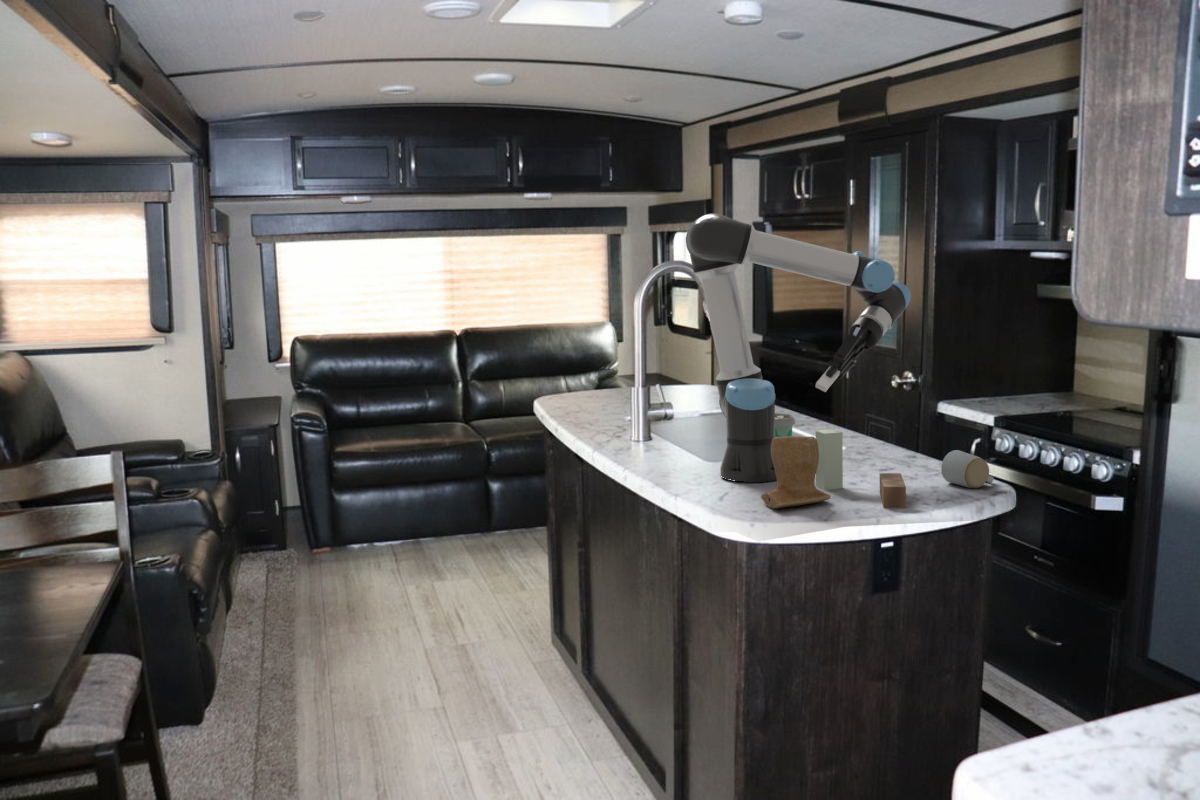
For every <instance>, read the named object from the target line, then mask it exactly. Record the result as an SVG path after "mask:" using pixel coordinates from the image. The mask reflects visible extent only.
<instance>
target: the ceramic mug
mask: <svg viewBox="0 0 1200 800" xmlns="http://www.w3.org/2000/svg"><path fill="white" fill-rule="evenodd" d="M940 471H941V475H942V477H943V479H944V480H945V481H946V482H947V483H949V484H954V485H957V486H960V487H961V486H962V487H965V488H969V489H978V488H981V487H983V486H984V484H986V483H987V484H993V482H994V476H991V475H990V467H989V465H988V463H987V461H986V460H984V459H983V458H981V457H979V456H978V455H974V454H971V453H967V452H965V451H962V450H960V449H955V450H951V451H950V452H948V453H947V454H946V455H945V456H944V458H943V459H942V462H941V469H940Z"/></svg>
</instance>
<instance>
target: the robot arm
mask: <svg viewBox="0 0 1200 800" xmlns="http://www.w3.org/2000/svg"><path fill="white" fill-rule="evenodd" d="M685 235H686V236H685V245H686V249H687V251H688V253H689V257H690V261H691V267H692V271H693V274H694V275H695V276H697V277H698V278H700V280H701V284H702V288H703V289H702V290H703V294H704V299H705V303H706V309H707V312H708V313H707V314H708V318H709V323H710V329H711V332H712V333H711V334H712V338H713V342H714V346H715V352H716V357H717V361H718V366H719V373H718V374H717V375H716V378H715V381H716V385H717V389H718V390H717V392H718V395H719V398H718V399H719V400H718V402H719V403H718V404H719V407H720V410H721V413H722V415H724V417H725V418H726V448H725V452H724V455H723V459H722V462H721V465H720V477H721V476H722V477H724V478H726V479H731V480H735V481H744V482H743V483H765V482H766V483H767V481H768V482H773V481H777V478H776V473H775V468H774V464H773V461H772V457H771V443H772V439H773V438H774V437H775V413H776V408H775V407H776V403H775V402H776V401H775V400H776V393H775V386H774V385H773V383H772V382H771V381H769V380H766V379H763V374H762V371H761V368H760V367H758V366H757V365H755V364H754V361H753V355H752V351H751V345H750V341H749V336H748V331H747V327H746V321H745V318H744V317H745V315H744V312H743V311H744V309H743V307H742V302H741V298H740V297H741V295H740V292H739V291H740V290H739V288H738V287H739V286H738V282H737V281H738V280H737V277H736V270H737V269H738V267H739V265H744V264H746V263H752V264H755V265H756V264H757V265H760V266H764V267H768V268H772V269H776V270H780V271H785V272H789V273H792V274H793V273H794V274H798V275H802V276H806V277H809V278H814V279H819V280H823V281H827V282H831V283H835V284H839V285H843V286H848V287H851V288H852V289H853V290H854V291H855V292H856V294H858V295H859V296H860V298H862V300H863V301H864V302H865V303H866V304H867V307H866V308H865V309H864V310H862V311H863V312H862V313H861V314H859V316H858V318H857V319H856V320H855V322H853V323H852V325H851V326H850V328H849V330H848V335H847V337H846V338H845V340H844V341H843V343H842V344H841V345H840V346H839V348H838V350H837V351H836V352H835V353H834V355H833V358H832V359H833V360H829V361H828V363H827V364H828V365H829V367H828V368H827V369H826V371H824V373H823V374H822V375H821V376H820V378H818V380H817V381H816V382H815V388H816V389H818V390H820V391H822V392H824V393H826V392H827V391H828V389H829V388H830V387H831V386H832V385H833V383H834V382H835V381H836V380H839V381H840V380H841V379H842V378H843V377H844V376H845V375H846V374H848V373H849V372H850V371H851V369H853V368H854V367H856V366H857V364H858V362H857V359H858V357H859V356H860V355H862V354H863V353H864V351H865V350H867V349H873V348H875V346H877V345H878V343H879V342H880V340H881V339H882V337H883V336H885V334H886V333H887V331H888V330H892V328H893V327H892V326H893V324H894V323H895V321H896V320H897V319H898V318H899V317H900V316H901V315H902V313H904V311H906V308H907V307H908V306H909V303H910V302H911V299H912V294H911V291H910V289H909V288H908V287H907V286H906V284H903V283H901V282H900V281H897V280H896V281H895V279H896V278H895V277H896V274H895V269H894V267H893V265H892V264H891V263H890V262H888V261H885V260H883V259H879V258H878V259H877V258H876V259H874V258H870V257H868V256H867V255H865V254H864V253H863V252H862V251H861V250H858V251H854V252H853V253H850V252H845V251H841V250H837V249H833V248H829V247H825V246H821V245H818V244H813V243H810V242H805V241H800V240H797V239H793V238H789V237H785V236H784V237H783V236H780V235H776V234H772V233H767V232H764V231H760V230H756V228H755V226H754V225H753V224H750V223H745V222H741V221H739V220H736V219H733V218H731V217H729V216H726V215H724V214H720V213H713V212H712V213H707V214H704V215H701V216H700V217H698V218H697V219H695V220H694V221H693V222H692V223H691V224H690V226H689V227H688V229H687V231H686V234H685ZM735 481H734V482H735Z"/></svg>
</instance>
